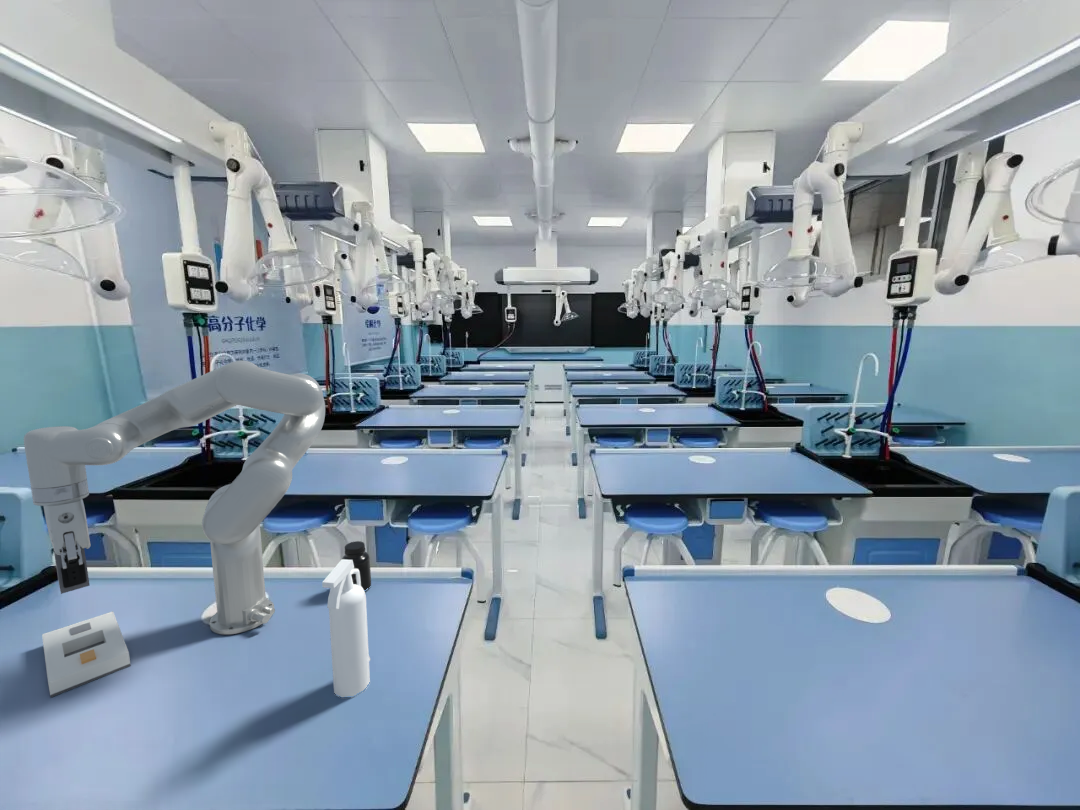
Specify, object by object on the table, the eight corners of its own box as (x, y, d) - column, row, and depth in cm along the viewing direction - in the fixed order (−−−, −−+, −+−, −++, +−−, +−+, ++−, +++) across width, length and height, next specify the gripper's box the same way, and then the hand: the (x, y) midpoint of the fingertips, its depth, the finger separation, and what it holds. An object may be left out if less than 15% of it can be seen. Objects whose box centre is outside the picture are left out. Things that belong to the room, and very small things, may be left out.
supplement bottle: (347, 581, 124) (345, 539, 122) (374, 581, 125) (372, 538, 123) (339, 596, 118) (336, 551, 116) (367, 595, 118) (364, 550, 116)
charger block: (89, 585, 93) (84, 547, 92) (61, 593, 90) (54, 554, 89) (87, 578, 95) (81, 541, 94) (59, 586, 92) (53, 548, 91)
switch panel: (130, 665, 93) (128, 649, 92) (50, 697, 84) (47, 679, 84) (114, 623, 106) (112, 608, 105) (44, 647, 98) (41, 631, 97)
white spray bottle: (386, 659, 95) (376, 545, 90) (356, 709, 83) (343, 580, 78) (355, 657, 96) (343, 544, 91) (321, 705, 84) (306, 578, 79)
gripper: (93, 497, 87) (106, 588, 90) (83, 477, 98) (94, 559, 101) (34, 508, 81) (49, 605, 84) (30, 486, 92) (44, 572, 95)
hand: (74, 579), depth 92 cm, fingers closed on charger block, 4 cm apart
